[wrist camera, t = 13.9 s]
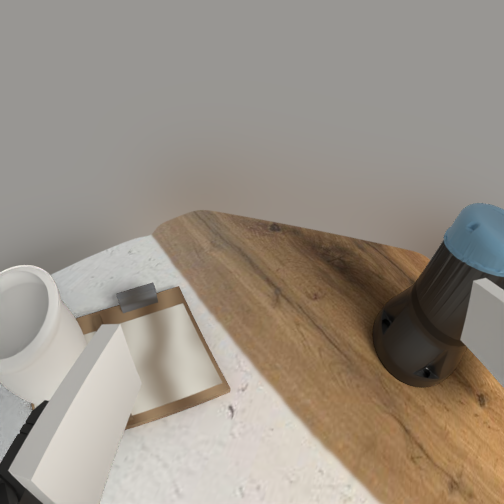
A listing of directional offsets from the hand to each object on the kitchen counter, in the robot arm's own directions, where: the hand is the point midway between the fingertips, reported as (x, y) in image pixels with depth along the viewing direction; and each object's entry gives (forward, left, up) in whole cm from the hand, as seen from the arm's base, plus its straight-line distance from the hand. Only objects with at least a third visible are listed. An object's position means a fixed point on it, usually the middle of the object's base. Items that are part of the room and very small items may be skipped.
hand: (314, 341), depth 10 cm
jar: (+16, -14, -25) cm, 33 cm away
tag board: (+10, -15, -26) cm, 32 cm away
